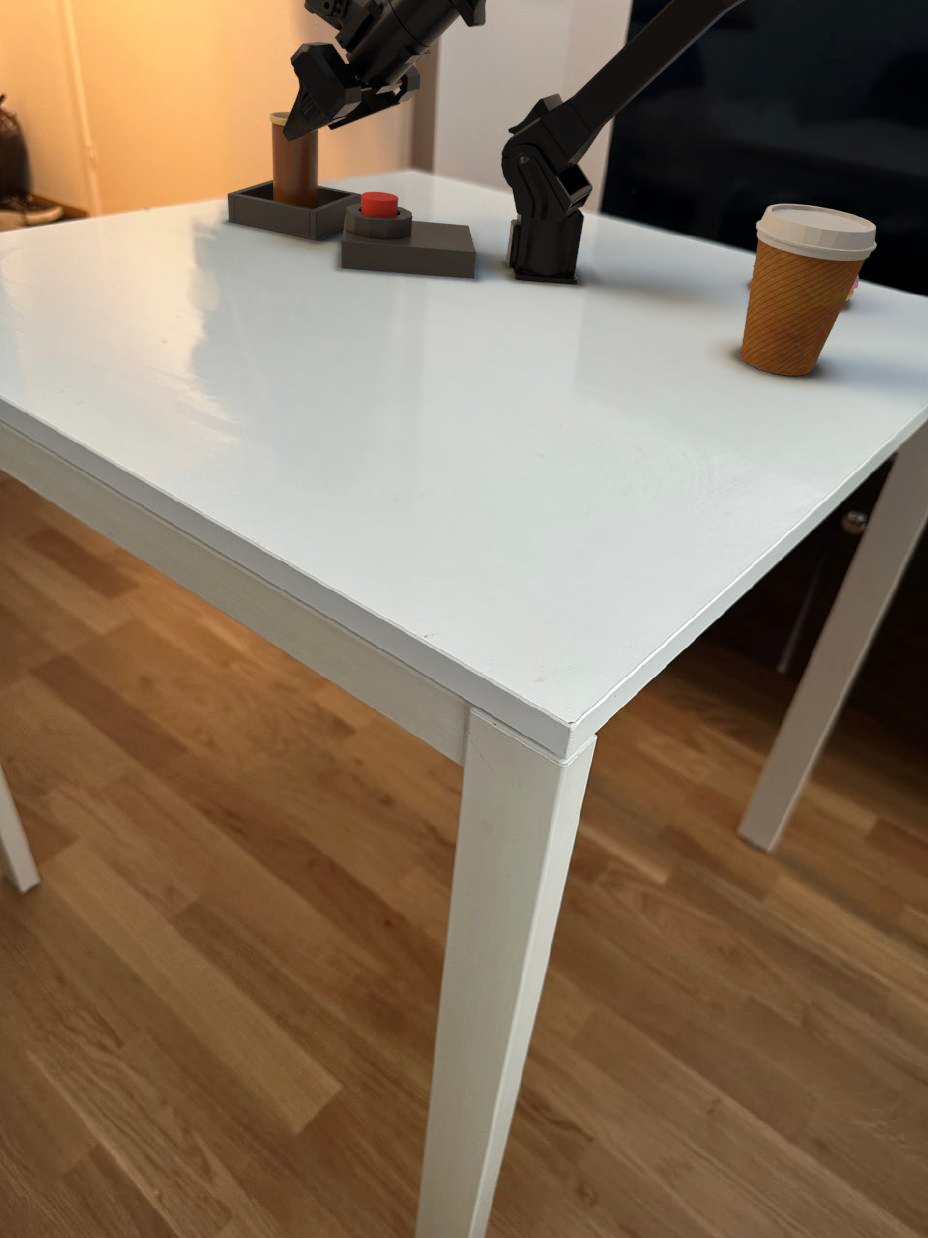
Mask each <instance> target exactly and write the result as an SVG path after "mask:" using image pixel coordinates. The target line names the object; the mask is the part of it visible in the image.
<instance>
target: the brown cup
mask: <svg viewBox="0 0 928 1238" xmlns="http://www.w3.org/2000/svg"><path fill="white" fill-rule="evenodd" d="M290 112H291V111H275V112H270V113H269V122H270V123H271V151H272V152H271V154H272V158H271V159H272V180H273V201H276V202H281V203H286V204H291V205H296V206H301V207H305V208H310V209H315V208H318V186H319V129H318V130H315V131H313V132H311V133H308V134H306V135H304V136H301V137H299V138H296V139H294V140H292V141H288V140H287V139H286V137H285V136H284V135H283V132H282V131H283V128H284V126H285V124H286V121H287V119H288V116H289V114H290Z"/></svg>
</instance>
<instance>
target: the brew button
mask: <svg viewBox="0 0 928 1238" xmlns="http://www.w3.org/2000/svg"><path fill="white" fill-rule="evenodd" d="M398 207H399V196H397V195H395V194H392V193H389V192H384V191H366V192H363V193H362V200H361V213H363V214H367V215H371V216H379V217H395V216H397V214H398Z"/></svg>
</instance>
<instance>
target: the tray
mask: <svg viewBox="0 0 928 1238" xmlns="http://www.w3.org/2000/svg"><path fill="white" fill-rule="evenodd" d="M362 194H363V193H362ZM362 194H361V193H358V192H353V191H347V190H343V189H337V188H333V187H328V186H322V185H318V208H315V209H310V208H305V207H301V206H296V205H291V204H286V203H281V202H276V201H273V179H270V180H268V181H263V182H261V183H257V184H255V185H251V186H248V187H244V188H241V189H238V190H235V191H231V192H227V209H228V223H231V224H235V225H240V226H245V227H250V228H255V229H259V230H262V231H263V230H264V231H268V232H273V233H277V234H282V235H286V236H290V237H291V236H292V237H295V238H301V239H305V240H309V241H315V242H317V241H320V240H322V239H324V238H327V237H329V236H331V235H334V234H335V233H338V232H340V231H342V230H343V229H344V222H345V215H346V210H347V206H351V205H354V204H358V203H362Z"/></svg>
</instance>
